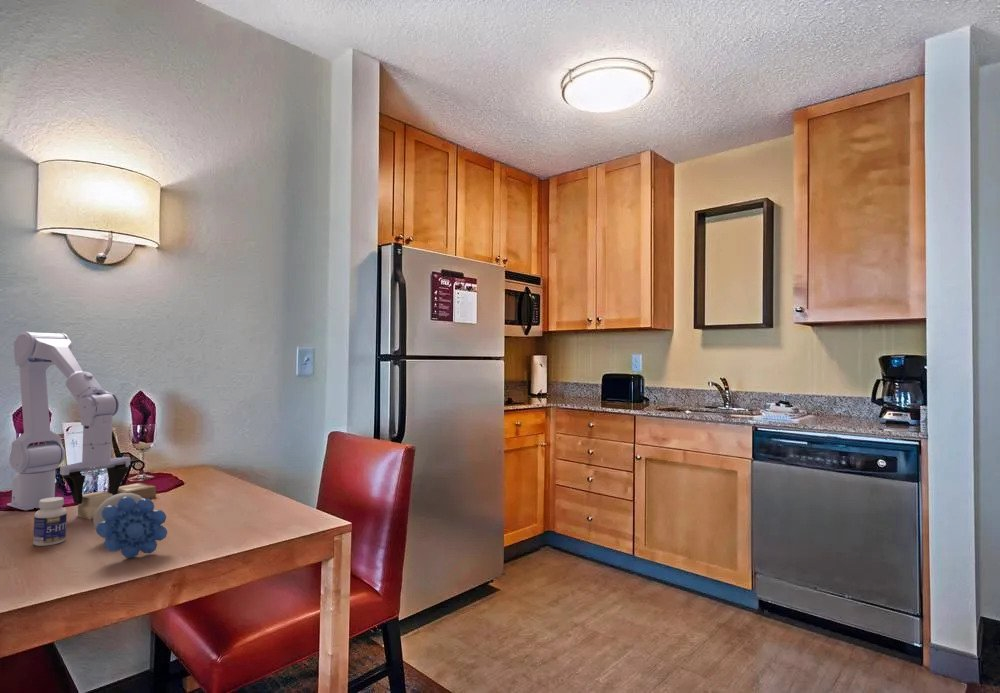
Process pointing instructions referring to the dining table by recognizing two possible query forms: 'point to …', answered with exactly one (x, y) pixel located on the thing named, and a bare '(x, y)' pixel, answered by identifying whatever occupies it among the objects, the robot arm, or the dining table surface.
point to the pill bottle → (50, 522)
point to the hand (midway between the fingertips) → (95, 499)
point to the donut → (112, 502)
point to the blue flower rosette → (132, 527)
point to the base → (139, 490)
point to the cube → (91, 503)
